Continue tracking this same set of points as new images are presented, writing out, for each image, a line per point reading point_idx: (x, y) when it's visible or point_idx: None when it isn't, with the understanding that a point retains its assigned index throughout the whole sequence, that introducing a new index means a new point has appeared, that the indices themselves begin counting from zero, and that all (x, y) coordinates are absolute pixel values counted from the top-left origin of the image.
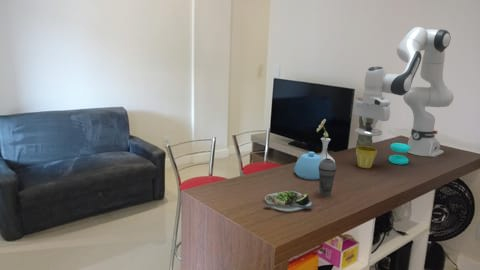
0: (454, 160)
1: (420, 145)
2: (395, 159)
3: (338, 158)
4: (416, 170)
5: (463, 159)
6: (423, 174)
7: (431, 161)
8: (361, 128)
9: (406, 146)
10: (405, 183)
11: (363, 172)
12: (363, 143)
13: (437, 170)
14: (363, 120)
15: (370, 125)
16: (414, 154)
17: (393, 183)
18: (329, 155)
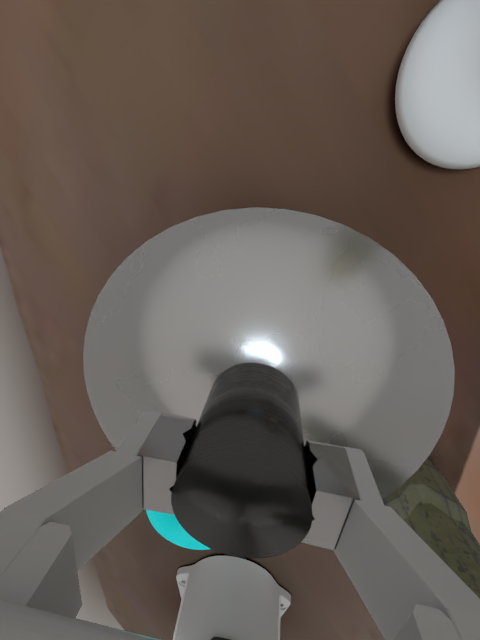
0: (127, 572)
1: (209, 608)
2: None
3: (445, 285)
4: None
5: (121, 592)
6: (75, 383)
7: None
8: (389, 435)
9: (153, 513)
10: (27, 222)
11: (213, 187)
12: (406, 493)
13: (85, 455)
14: (407, 550)
15: (193, 440)
16: (229, 556)
17: (44, 171)
18: (476, 86)
